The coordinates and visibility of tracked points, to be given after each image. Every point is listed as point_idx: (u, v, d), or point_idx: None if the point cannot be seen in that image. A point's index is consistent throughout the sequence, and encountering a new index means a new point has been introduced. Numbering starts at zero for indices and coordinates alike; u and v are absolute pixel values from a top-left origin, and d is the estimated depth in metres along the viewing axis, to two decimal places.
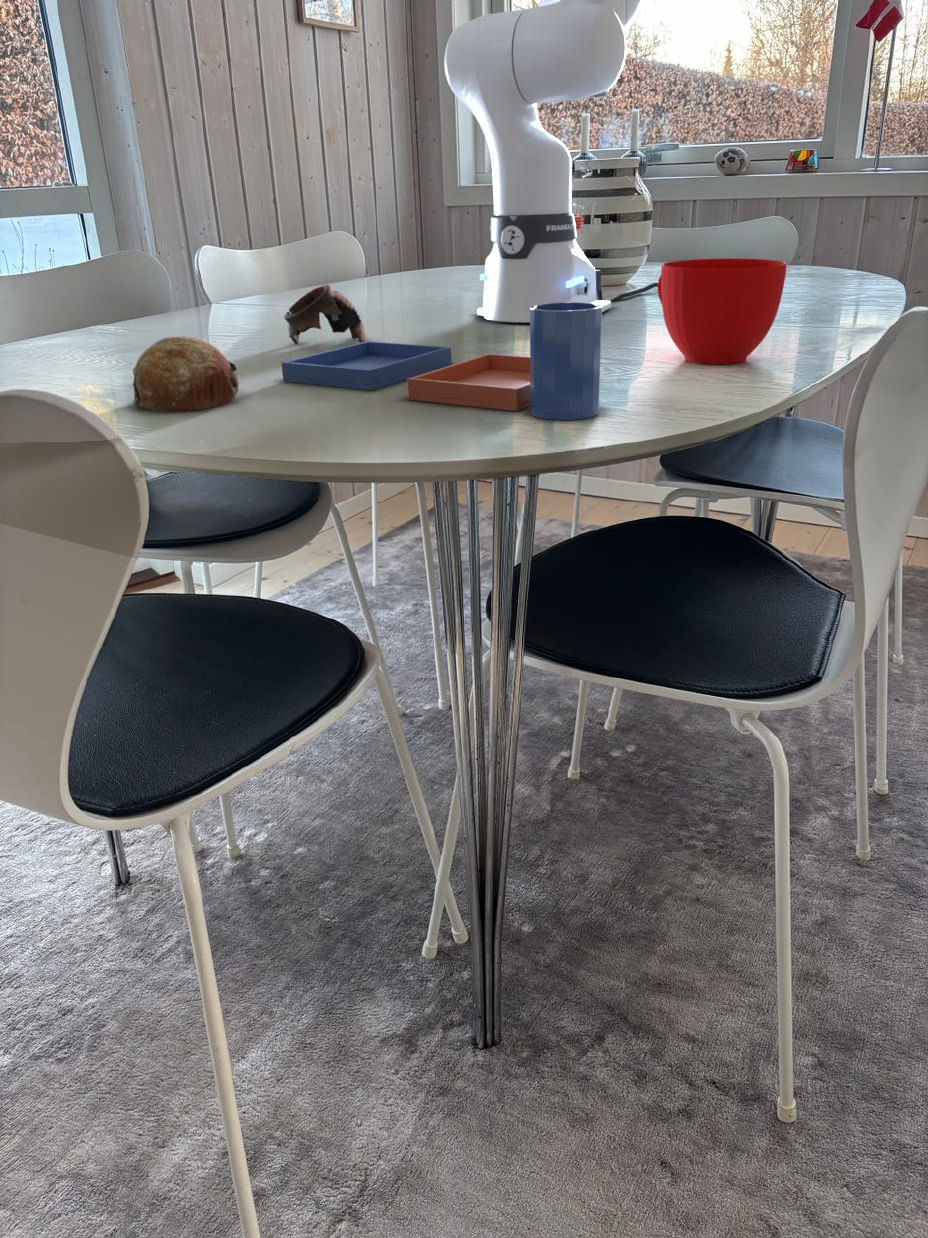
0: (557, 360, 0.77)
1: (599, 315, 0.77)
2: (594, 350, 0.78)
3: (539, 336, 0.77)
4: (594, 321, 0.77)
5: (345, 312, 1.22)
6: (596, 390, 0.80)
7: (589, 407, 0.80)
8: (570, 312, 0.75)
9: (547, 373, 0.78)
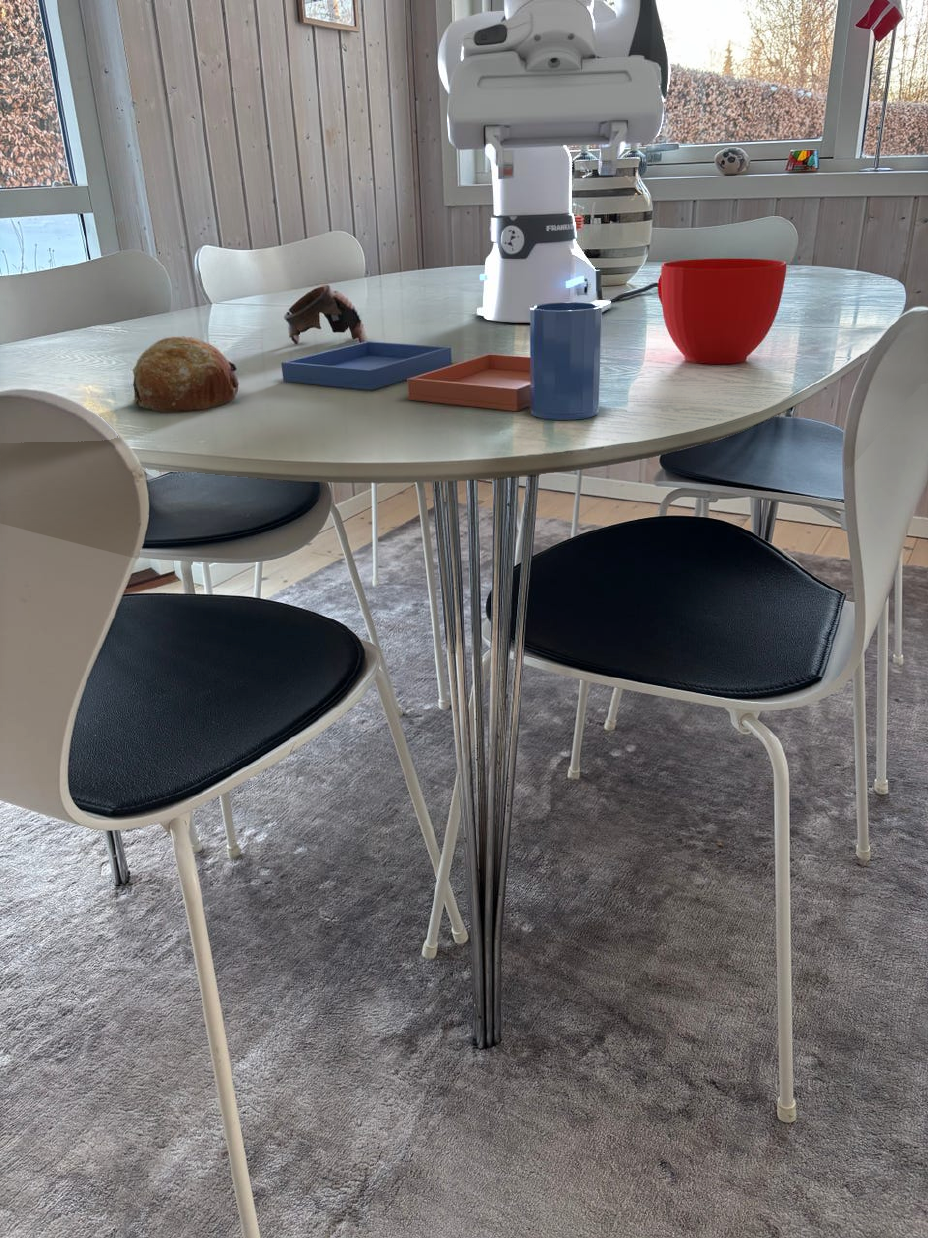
0: (557, 360, 0.77)
1: (599, 315, 0.77)
2: (594, 350, 0.78)
3: (539, 336, 0.77)
4: (594, 321, 0.77)
5: (345, 312, 1.22)
6: (596, 390, 0.80)
7: (589, 407, 0.80)
8: (570, 312, 0.75)
9: (547, 373, 0.78)
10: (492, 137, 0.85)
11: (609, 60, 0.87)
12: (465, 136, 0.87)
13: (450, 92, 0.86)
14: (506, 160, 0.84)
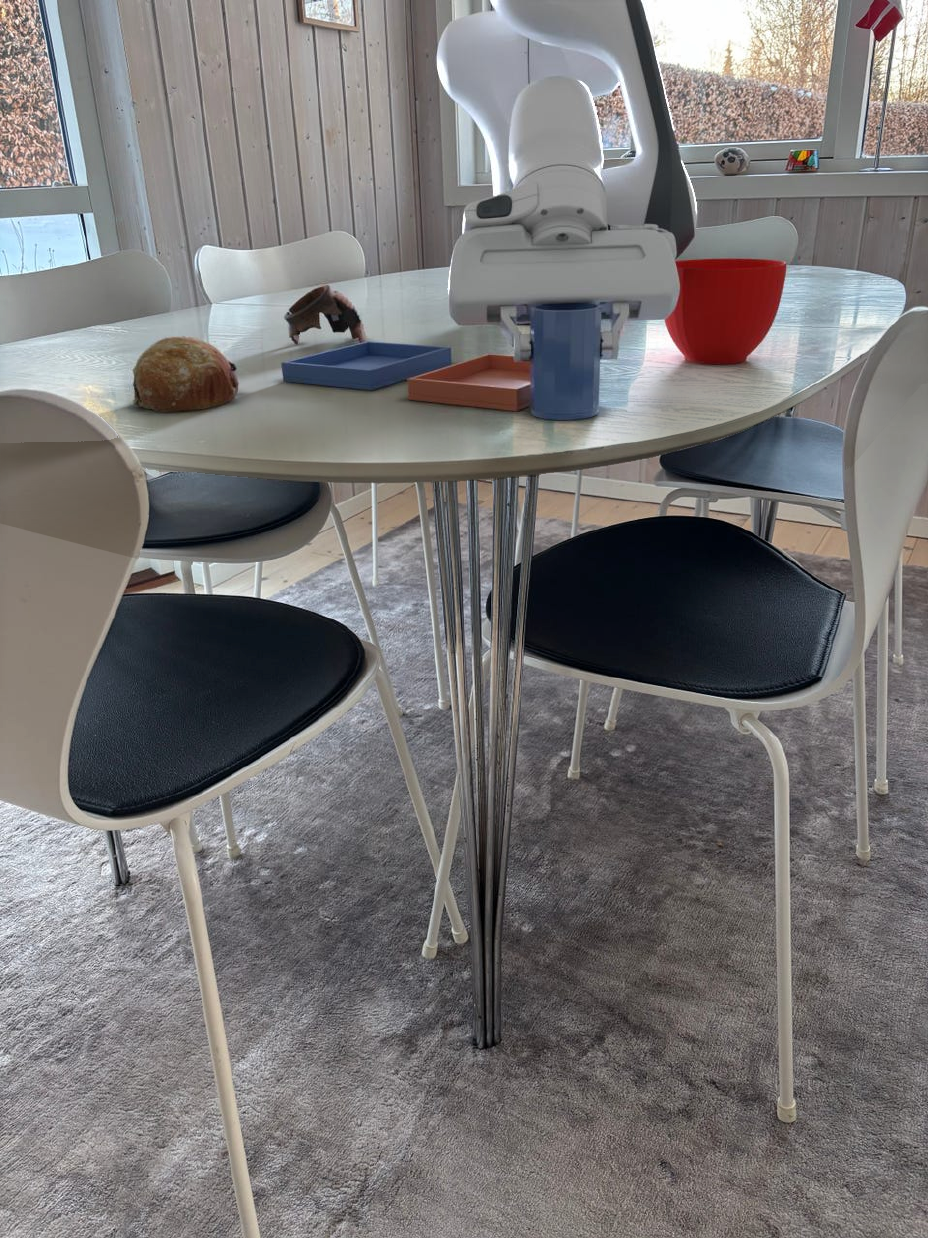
0: (557, 360, 0.77)
1: (599, 315, 0.77)
2: (594, 350, 0.78)
3: (539, 336, 0.77)
4: (594, 321, 0.77)
5: (345, 312, 1.22)
6: (596, 390, 0.80)
7: (589, 407, 0.80)
8: (570, 312, 0.75)
9: (547, 373, 0.78)
10: (508, 319, 0.80)
11: (621, 233, 0.81)
12: (467, 315, 0.81)
13: (451, 269, 0.80)
14: (523, 345, 0.79)
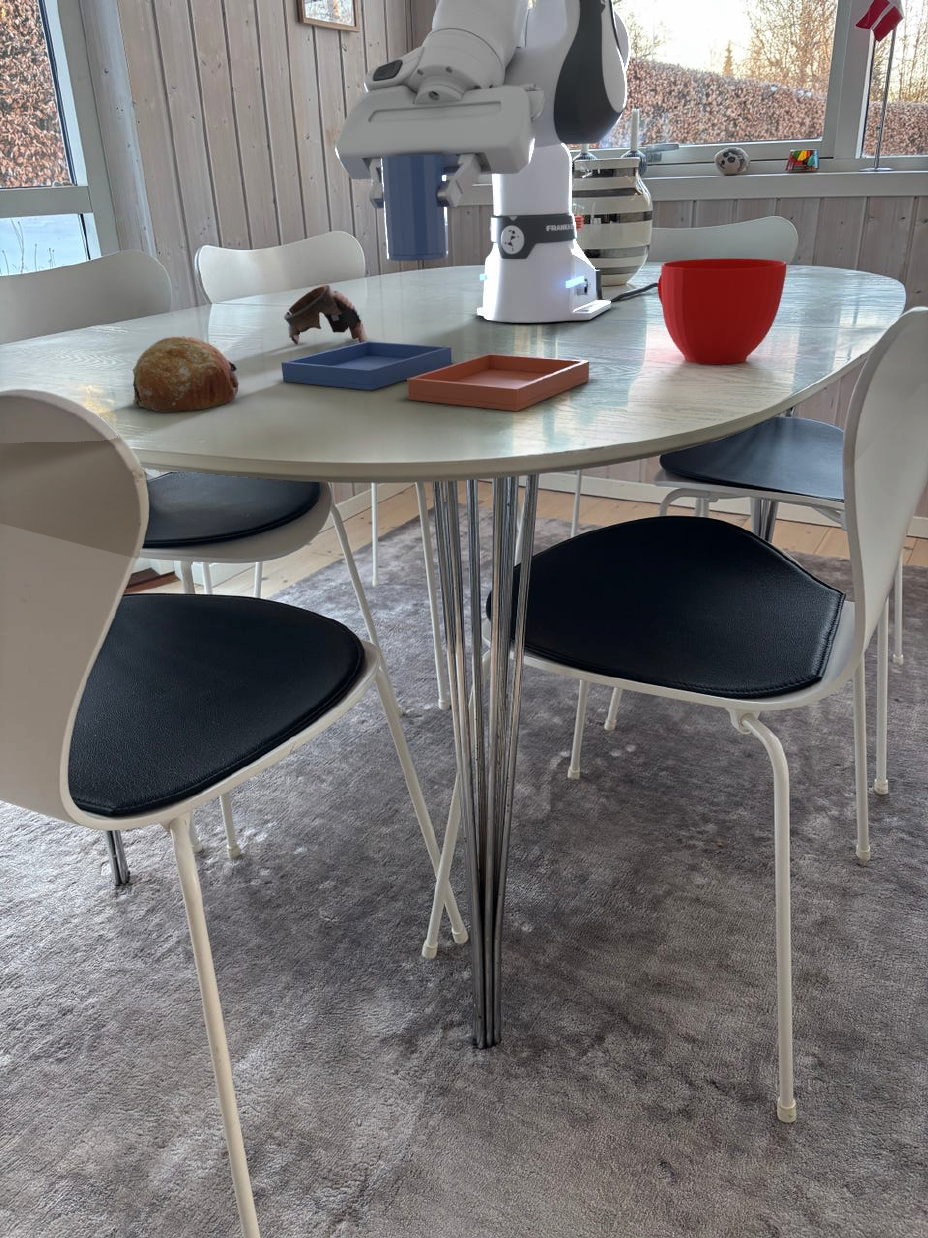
0: (391, 203, 0.86)
1: (431, 162, 0.85)
2: (426, 195, 0.86)
3: (382, 181, 0.87)
4: (423, 167, 0.85)
5: (345, 312, 1.22)
6: (433, 235, 0.87)
7: (424, 250, 0.88)
8: (397, 156, 0.84)
9: (387, 216, 0.88)
10: (373, 169, 0.90)
11: (489, 91, 0.87)
12: (352, 167, 0.93)
13: (342, 126, 0.92)
14: (378, 192, 0.89)
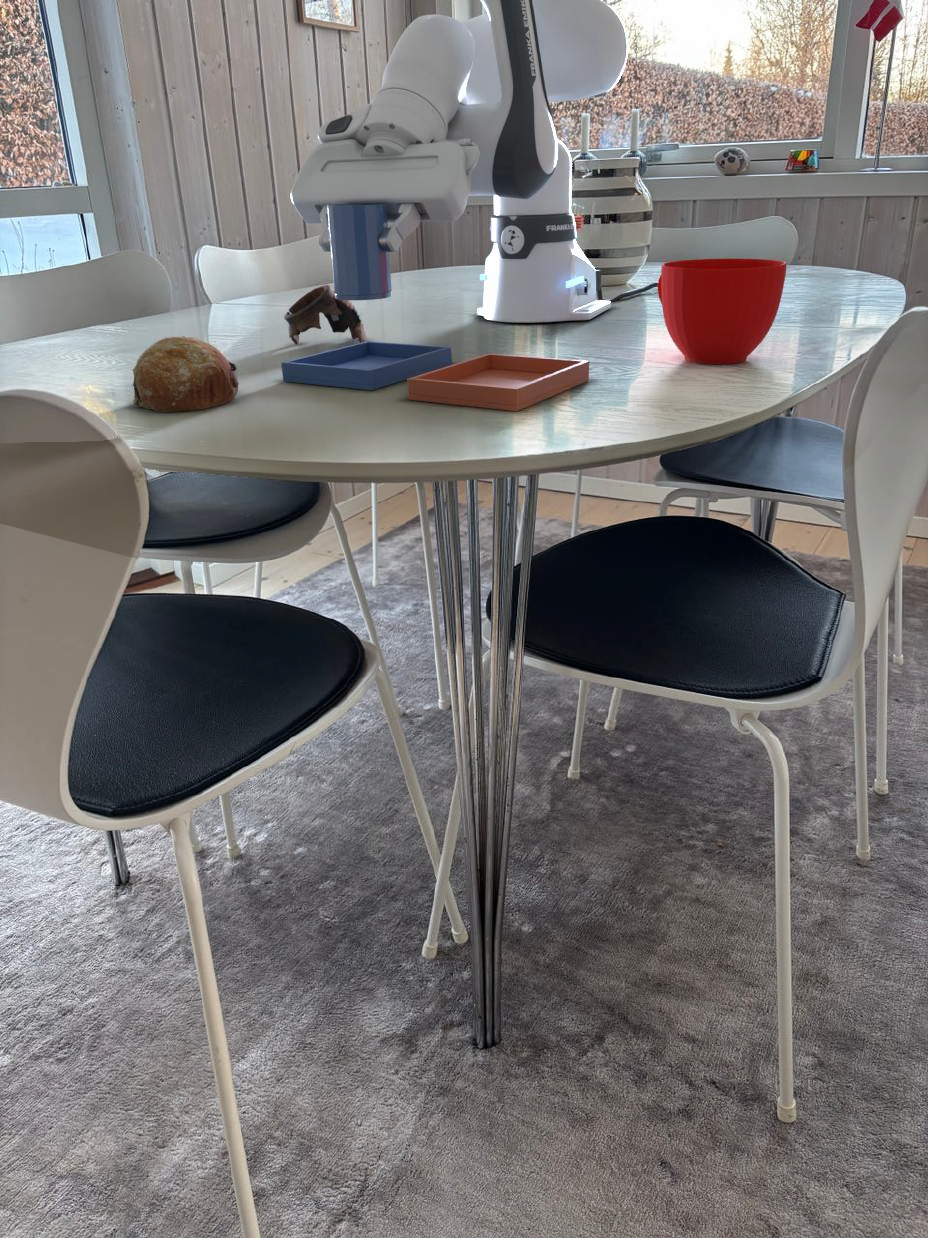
0: (337, 248, 0.94)
1: (372, 211, 0.92)
2: (368, 241, 0.93)
3: (329, 228, 0.95)
4: (364, 216, 0.92)
5: (345, 312, 1.22)
6: (375, 277, 0.95)
7: (367, 291, 0.95)
8: (340, 206, 0.92)
9: (333, 259, 0.95)
10: (324, 215, 0.98)
11: (428, 146, 0.95)
12: (306, 213, 1.00)
13: (297, 175, 1.00)
14: (326, 237, 0.97)
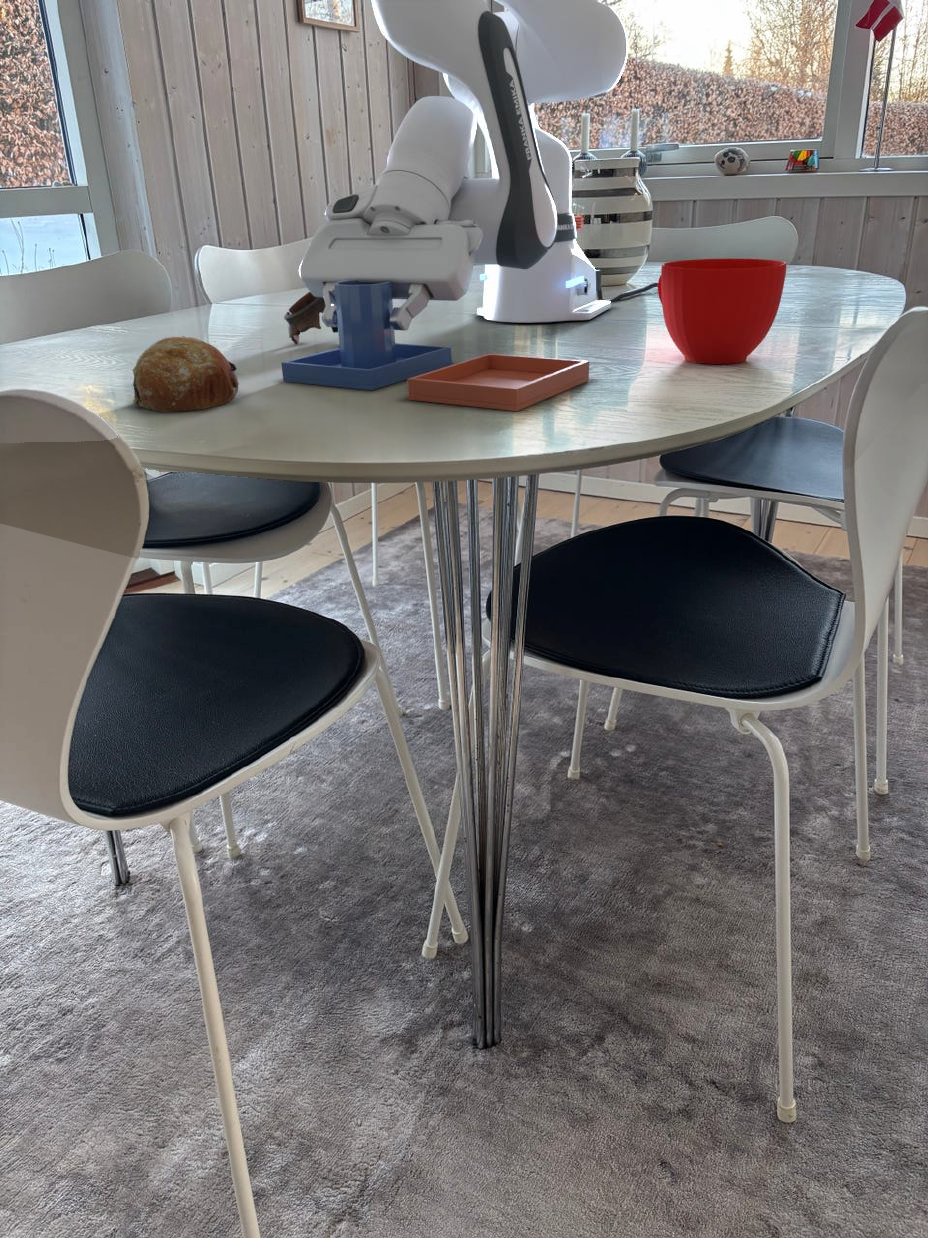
0: (343, 324, 0.97)
1: (377, 290, 0.96)
2: (373, 319, 0.97)
3: (336, 304, 0.98)
4: (370, 295, 0.95)
5: None
6: (380, 351, 0.98)
7: (372, 365, 0.99)
8: (347, 286, 0.95)
9: (340, 334, 0.99)
10: (326, 292, 1.01)
11: (432, 227, 0.98)
12: (314, 288, 1.04)
13: None
14: (329, 314, 1.00)
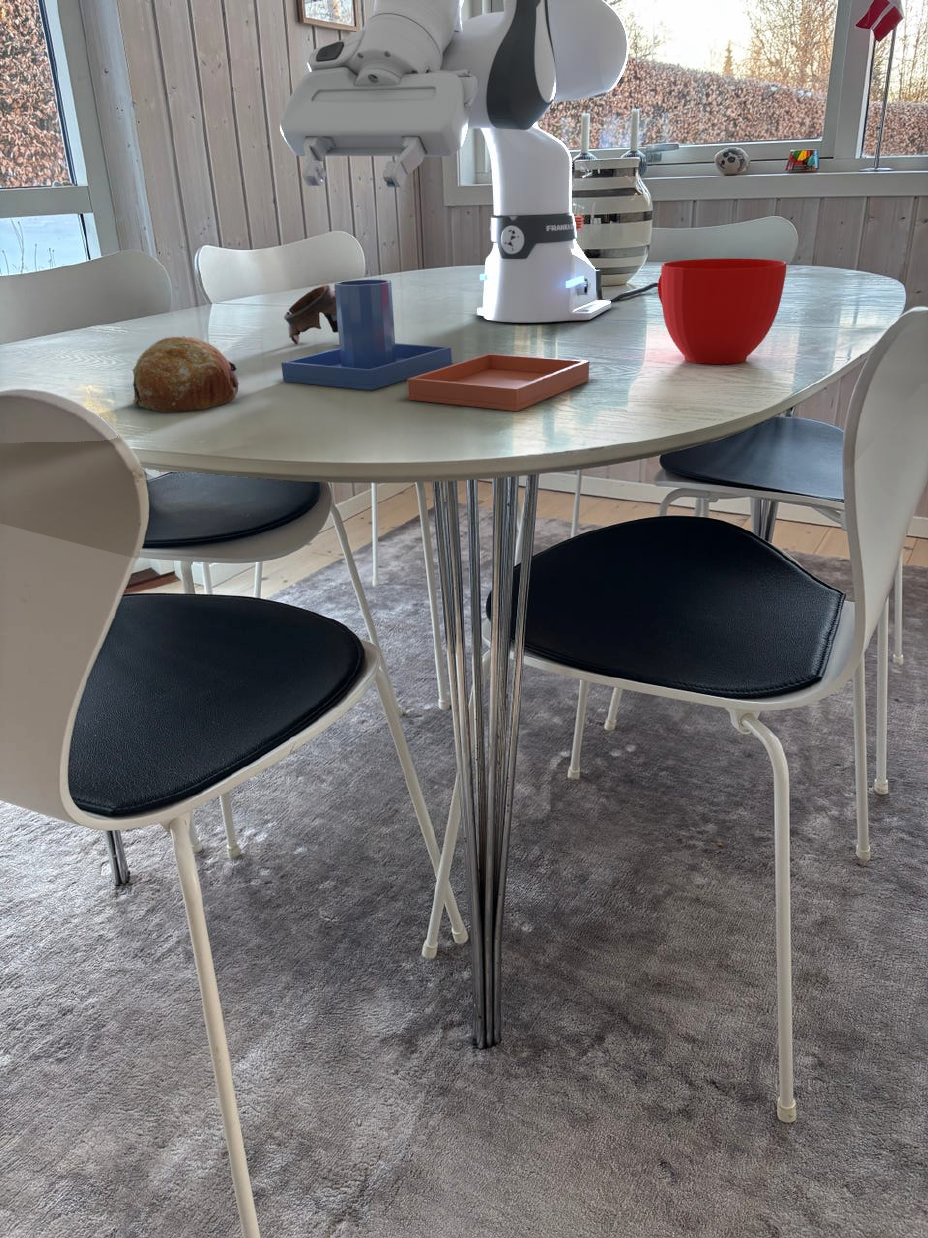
0: (343, 324, 0.97)
1: (377, 290, 0.96)
2: (373, 319, 0.97)
3: (336, 304, 0.98)
4: (370, 295, 0.95)
5: None
6: (380, 351, 0.98)
7: (372, 365, 0.99)
8: (347, 286, 0.95)
9: (340, 334, 0.99)
10: (307, 147, 0.95)
11: (425, 76, 0.92)
12: (296, 145, 0.97)
13: None
14: (311, 170, 0.94)
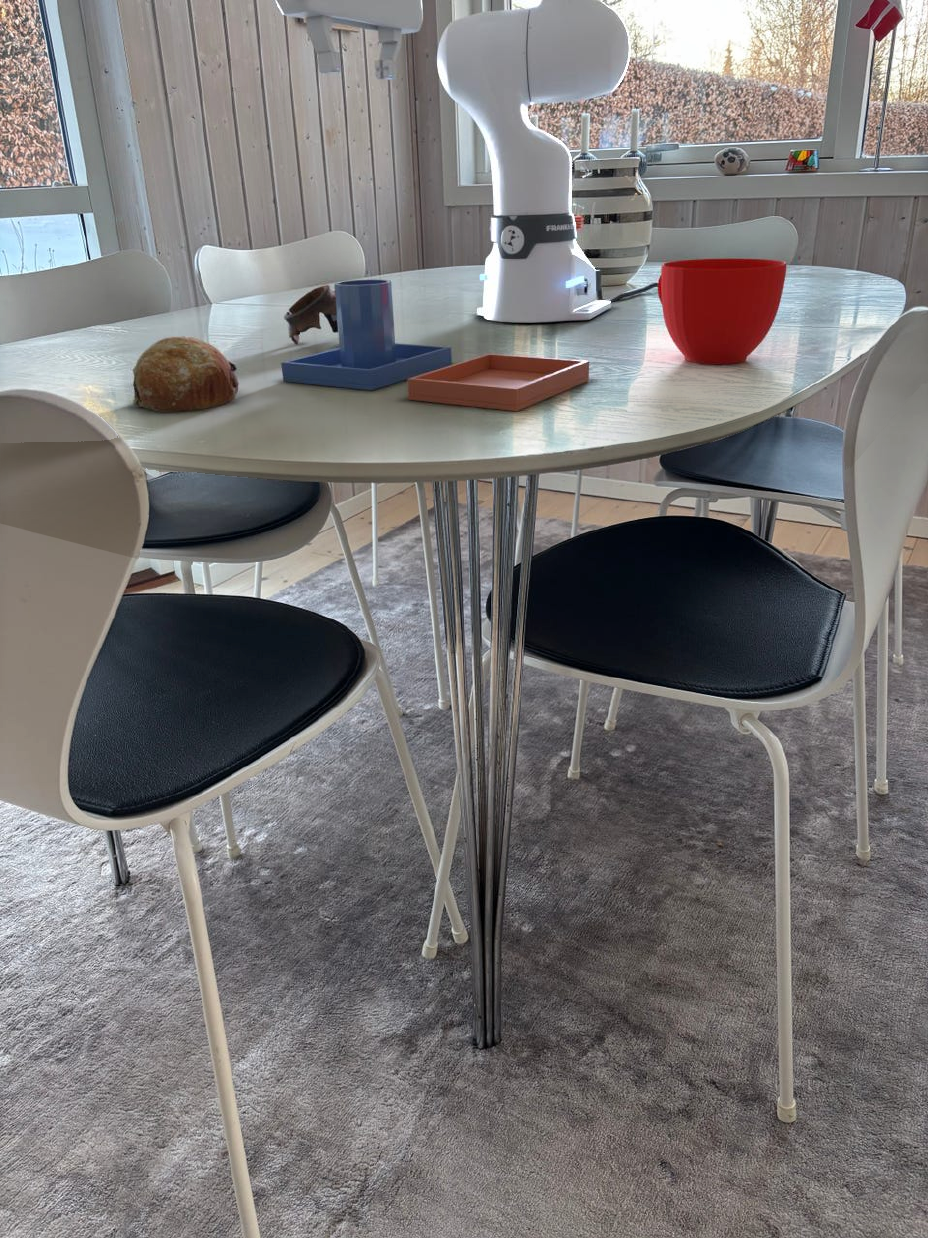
0: (343, 324, 0.97)
1: (377, 290, 0.96)
2: (373, 319, 0.97)
3: (336, 304, 0.98)
4: (370, 295, 0.95)
5: None
6: (380, 351, 0.98)
7: (372, 365, 0.99)
8: (347, 286, 0.95)
9: (340, 334, 0.99)
10: (327, 32, 0.90)
11: None
12: (300, 14, 0.88)
13: None
14: (335, 64, 0.92)
